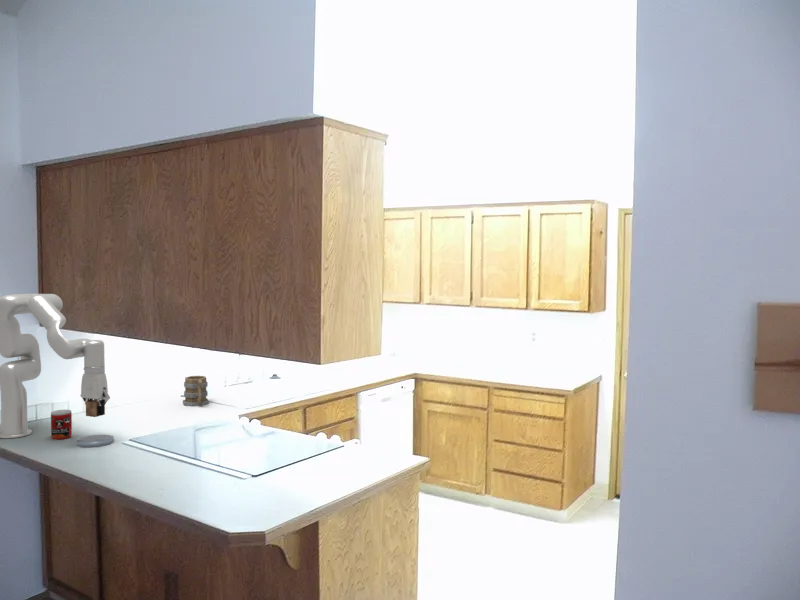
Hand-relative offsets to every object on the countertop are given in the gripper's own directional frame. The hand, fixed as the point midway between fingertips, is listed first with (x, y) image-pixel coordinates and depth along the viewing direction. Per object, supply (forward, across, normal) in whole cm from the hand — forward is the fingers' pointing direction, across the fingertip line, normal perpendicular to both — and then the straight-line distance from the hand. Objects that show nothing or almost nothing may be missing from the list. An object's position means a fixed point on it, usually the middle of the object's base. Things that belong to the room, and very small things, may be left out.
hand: (95, 414), depth 264 cm
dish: (+12, 0, 0) cm, 12 cm away
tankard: (+12, -7, +74) cm, 75 cm away
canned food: (+12, -19, 0) cm, 23 cm away
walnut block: (+1, 0, 0) cm, 1 cm away
